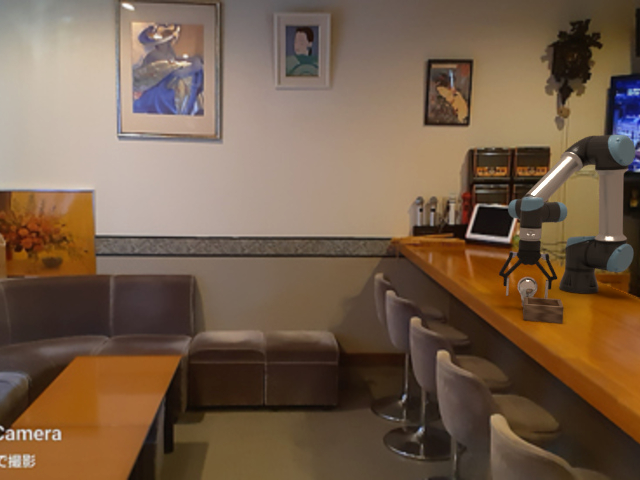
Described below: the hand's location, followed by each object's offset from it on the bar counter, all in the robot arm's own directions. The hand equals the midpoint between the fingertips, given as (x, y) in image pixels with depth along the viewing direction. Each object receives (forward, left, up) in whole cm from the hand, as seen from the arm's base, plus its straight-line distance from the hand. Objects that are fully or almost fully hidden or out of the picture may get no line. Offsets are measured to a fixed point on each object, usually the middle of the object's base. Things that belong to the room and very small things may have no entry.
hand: (526, 296), depth 218 cm
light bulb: (0, 0, -5) cm, 5 cm away
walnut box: (-5, +11, -5) cm, 13 cm away
